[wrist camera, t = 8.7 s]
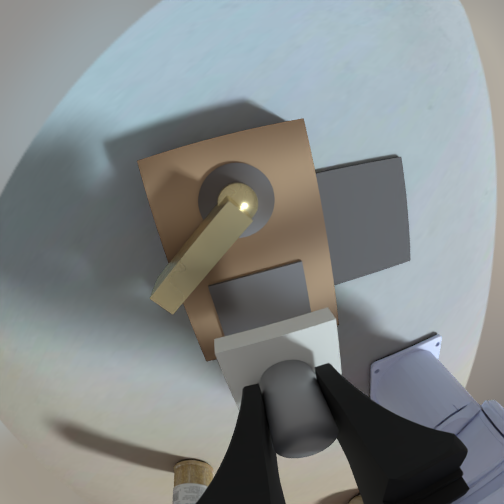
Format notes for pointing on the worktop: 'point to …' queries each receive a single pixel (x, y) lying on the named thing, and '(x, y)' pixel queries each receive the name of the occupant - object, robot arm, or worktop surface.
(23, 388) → the worktop surface
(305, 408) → the cover
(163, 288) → the lever handle
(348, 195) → the mat
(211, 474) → the sprinkles bottle
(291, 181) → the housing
